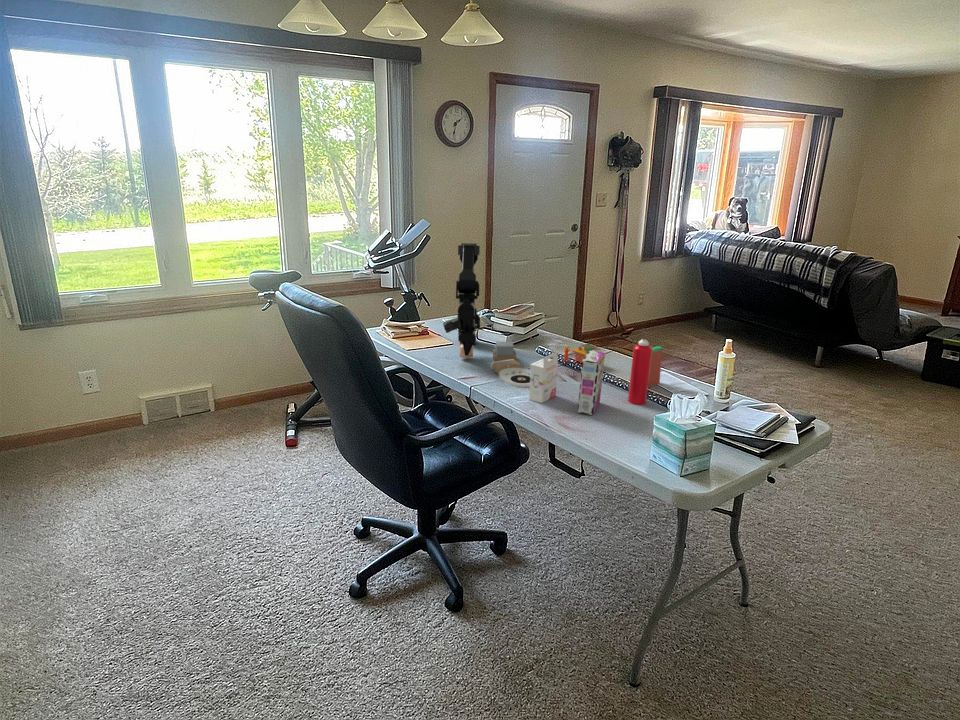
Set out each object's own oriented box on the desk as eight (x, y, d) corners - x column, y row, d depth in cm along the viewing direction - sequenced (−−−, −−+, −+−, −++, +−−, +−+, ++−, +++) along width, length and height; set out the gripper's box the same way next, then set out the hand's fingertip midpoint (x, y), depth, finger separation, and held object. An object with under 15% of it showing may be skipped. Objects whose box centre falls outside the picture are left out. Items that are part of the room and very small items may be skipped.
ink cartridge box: (542, 391, 184) (545, 347, 179) (556, 395, 181) (559, 351, 177) (528, 399, 178) (530, 354, 173) (542, 403, 175) (544, 358, 170)
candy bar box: (594, 416, 167) (598, 362, 161) (577, 413, 168) (581, 360, 163) (601, 402, 177) (605, 351, 171) (584, 399, 178) (589, 349, 173)
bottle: (643, 398, 181) (650, 336, 174) (648, 404, 175) (655, 342, 169) (626, 397, 181) (632, 336, 174) (630, 404, 175) (637, 341, 169)
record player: (517, 358, 207) (547, 377, 190) (516, 366, 208) (546, 385, 191) (488, 362, 202) (516, 382, 185) (488, 370, 203) (515, 390, 186)
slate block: (495, 350, 214) (495, 341, 213) (511, 350, 214) (512, 341, 213) (496, 355, 208) (497, 346, 207) (513, 355, 209) (513, 346, 207)
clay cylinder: (459, 353, 215) (460, 343, 214) (473, 353, 215) (473, 343, 214) (459, 357, 211) (459, 347, 209) (473, 358, 211) (473, 347, 209)
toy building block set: (635, 391, 186) (640, 350, 182) (559, 362, 212) (561, 325, 208) (659, 383, 193) (664, 343, 189) (582, 356, 220) (585, 320, 215)
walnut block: (492, 358, 216) (493, 349, 215) (514, 358, 217) (514, 349, 215) (494, 365, 209) (494, 356, 208) (516, 365, 209) (516, 356, 208)
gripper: (444, 305, 216) (444, 345, 221) (444, 318, 198) (444, 361, 203) (474, 306, 217) (473, 345, 222) (476, 318, 199) (475, 361, 204)
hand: (466, 353), depth 213 cm, fingers closed on clay cylinder, 5 cm apart
